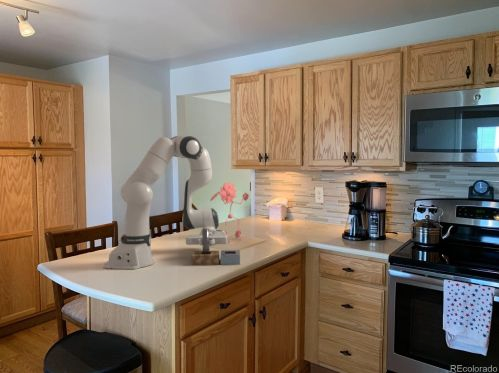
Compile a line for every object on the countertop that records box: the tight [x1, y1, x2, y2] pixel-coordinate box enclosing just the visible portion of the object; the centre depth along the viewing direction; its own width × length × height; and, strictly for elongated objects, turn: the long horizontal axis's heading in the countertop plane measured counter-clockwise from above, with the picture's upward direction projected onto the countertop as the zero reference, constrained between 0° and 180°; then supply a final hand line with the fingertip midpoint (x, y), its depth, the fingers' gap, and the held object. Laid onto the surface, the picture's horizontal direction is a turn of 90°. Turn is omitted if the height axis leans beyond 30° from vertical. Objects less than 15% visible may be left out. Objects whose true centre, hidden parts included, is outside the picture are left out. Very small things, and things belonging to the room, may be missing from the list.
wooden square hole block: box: [192, 250, 220, 266], centre depth 183 cm, size 12×9×4 cm
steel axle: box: [201, 228, 210, 254], centre depth 182 cm, size 3×3×16 cm
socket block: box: [220, 249, 241, 266], centre depth 183 cm, size 9×9×4 cm
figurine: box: [210, 182, 250, 243], centre depth 232 cm, size 15×26×35 cm, turn 130°
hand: (205, 243), depth 181 cm, fingers closed on steel axle, 3 cm apart
